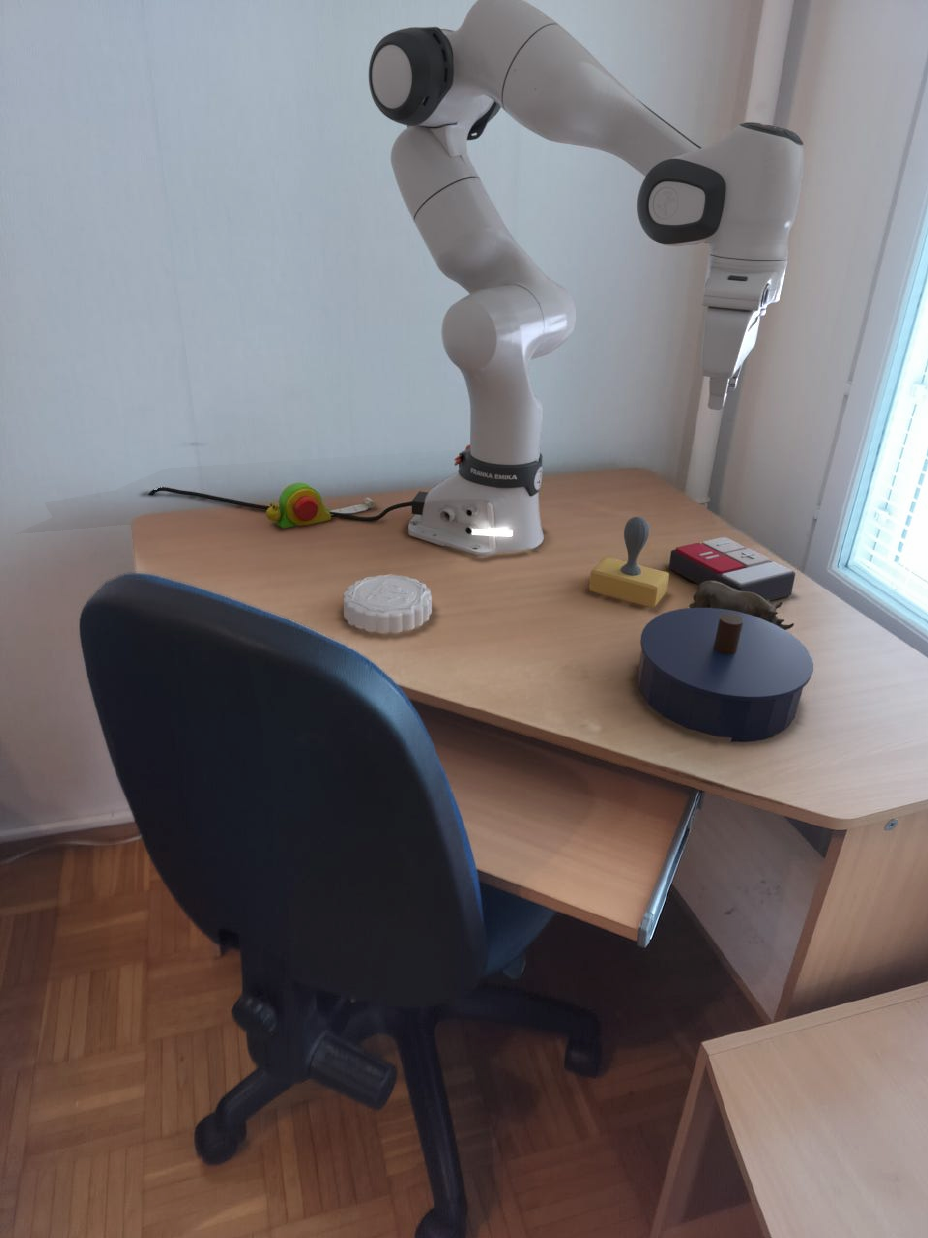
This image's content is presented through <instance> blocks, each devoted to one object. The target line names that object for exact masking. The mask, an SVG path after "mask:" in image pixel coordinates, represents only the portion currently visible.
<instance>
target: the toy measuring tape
mask: <svg viewBox="0 0 928 1238" xmlns="http://www.w3.org/2000/svg"><path fill="white" fill-rule="evenodd" d="M362 502H363V503H360V504H359V503H358V504H354V505H348V506H346V507H341V508H335V509H332V510H329V509H328V508H327V507H325V505H324V503H323V500H322V497H321V494H320V493H319V492H318V491H317V490H316V489H315V488H314V487H312V486H311V485H309V484H308V483H305V482H301V481H300V482H294V483H292V484H289V485H288V486H286V487H285V488H284V489H283V491H282V492H281V494H280V495H279V500H278V504H276V503H275V502H274V501H271V502H270V503H269V506H271V507H269V508H268V509H267V510H265V516H266V518H267V519H268V520H269V521H271V522H275V523H276V524H277V525H278V527H280V528H281V529H288V528H289V529H290V528H294V527H297V526H308V525H309V526H310V525H314V524H319V523H324V522H327V521H330V520H331V519H332V516H331V515H330V512H337V513H344V514H349V515H352V514H358V513H360V512H364V511H368V510H369V509H370V510H372V509H373V508H374V507H375V506H376V502H375V501H374V500H372V499H371V498H370V497H365V498H364V499H363V500H362ZM278 507H279V508H278ZM332 515H333V514H332Z"/></svg>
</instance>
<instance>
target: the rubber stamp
mask: <svg viewBox="0 0 928 1238" xmlns="http://www.w3.org/2000/svg"><path fill="white" fill-rule="evenodd" d="M649 534H650V526H649V523H648V521H647V520H646V519H645V518H643V517H641V516H634V517H631V518H630V519H629V520H627V522H626V524H625V525H624V530H623V538H624V544H625V547H626V551H627V561H625V560H621V559H617V558H613V557H610V556H605V557H604V558H603V559H601V560H600V561H599V562H598V564H596V565H595V566H594V567H593V568H592V569H591V570H590V575H589V576H590V577H589V584H588V590H589V591H591V592H595V593H598V594H602V595H605V596H609V597H613V598H616V599H620V600H623V601H627V602H630V603H634V604H638V605H640V606H641V605H642V606H646V607H649V608H656V606H657V605H658V603H659V602H660V601H661V600H662V598H663V597H665V595H666V594H667V592H668V591H667V590H668V584H669V580H670V579H669V578H670V573H669V572H667V571H663V570H660V569H656V568H652V567H648V566H645V565H641V564H638V563H637V561H638V557H639V555H640V553H641V552H642V550H643V548H644V547H645V546H646V545H645V544H646V543H647V541H648V538H649Z"/></svg>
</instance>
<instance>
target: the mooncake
mask: <svg viewBox="0 0 928 1238" xmlns="http://www.w3.org/2000/svg"><path fill="white" fill-rule="evenodd" d="M432 614H433V596H432V591H431V589H430V588H428V587H427V585H426V584H425V583H423V582H420V581H419V580H418V579H416V578H409V577H408V576H405V575H397V574H393V573H389V574H385V575H384V574H378V575H375V576H368V577H364V578H363V579H360V580H356V581H355V582H354V583H353V584H351V585H348V586H347V588H346V591H344V592H343V616H344V619H345V620H346V621H347V624H348V625H349V626H351V627H353V626H354V627H355V628H357V629H361V630H363V629H364V631H366V632H369V633H375V632H377V633H378V634H389V633H392V634H398V633H401V632H403V631H405V632H407V631H412V630H413V629H415V628H417V627H418V628H419V627H421V626H422V625H424V622H427V621H429V620H430V616H431V615H432Z"/></svg>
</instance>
